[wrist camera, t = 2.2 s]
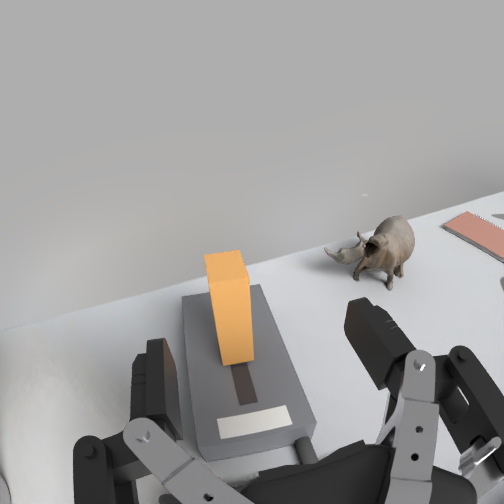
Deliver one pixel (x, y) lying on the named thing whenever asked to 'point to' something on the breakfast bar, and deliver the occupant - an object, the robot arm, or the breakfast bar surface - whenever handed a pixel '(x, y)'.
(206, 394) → the breaker box
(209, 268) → the handle
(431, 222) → the breakfast bar surface
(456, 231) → the notebook
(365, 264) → the rhinoceros figurine
